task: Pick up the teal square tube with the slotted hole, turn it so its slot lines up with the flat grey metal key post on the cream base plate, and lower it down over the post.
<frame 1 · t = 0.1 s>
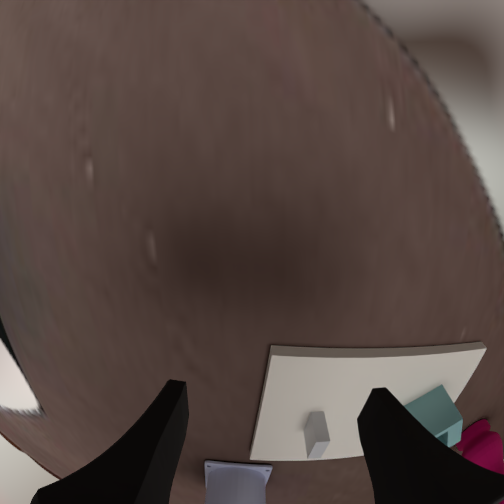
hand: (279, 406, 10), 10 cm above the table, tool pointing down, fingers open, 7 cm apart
pepper mill: (470, 430, 29), on the table
teal square tube: (420, 410, 23), point 1 cm above the table, touching key plate
key plate: (369, 409, 24), on the table
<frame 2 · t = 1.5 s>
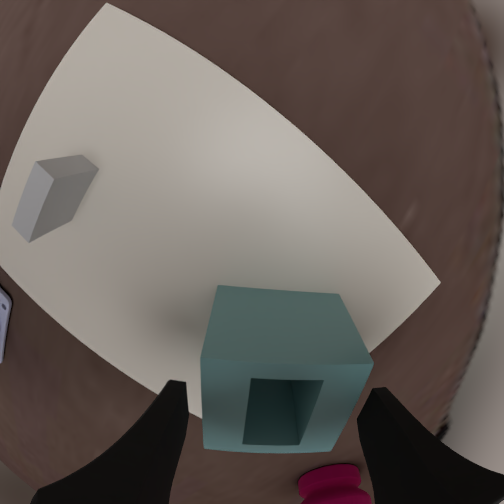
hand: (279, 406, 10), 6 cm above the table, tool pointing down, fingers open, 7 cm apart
pepper mill: (328, 475, 22), on the table
teal square tube: (272, 339, 14), point 1 cm above the table, touching key plate
key plate: (178, 257, 14), on the table
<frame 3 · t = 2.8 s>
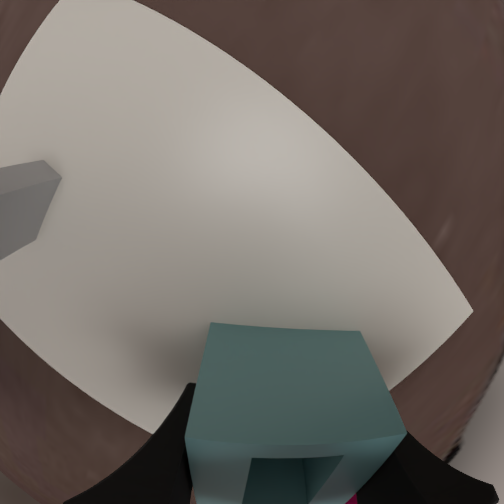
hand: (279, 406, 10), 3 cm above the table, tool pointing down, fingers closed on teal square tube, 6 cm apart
pepper mill: (333, 498, 19), on the table
teal square tube: (277, 381, 11), point 1 cm above the table, touching gripper, key plate
key plate: (162, 285, 11), on the table
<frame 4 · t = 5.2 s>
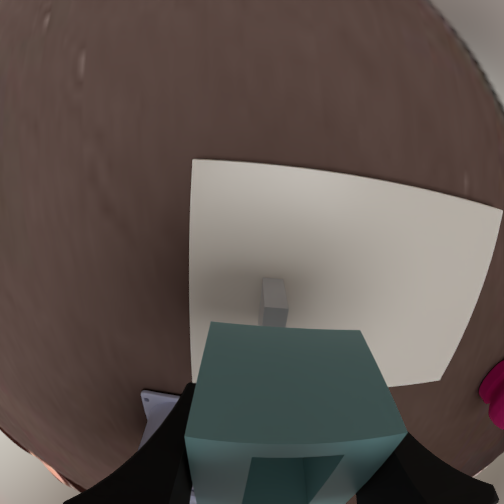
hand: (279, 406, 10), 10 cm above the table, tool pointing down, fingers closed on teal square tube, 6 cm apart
pepper mill: (495, 375, 23), on the table
teal square tube: (278, 381, 11), point 8 cm above the table, touching gripper
key plate: (356, 296, 19), on the table
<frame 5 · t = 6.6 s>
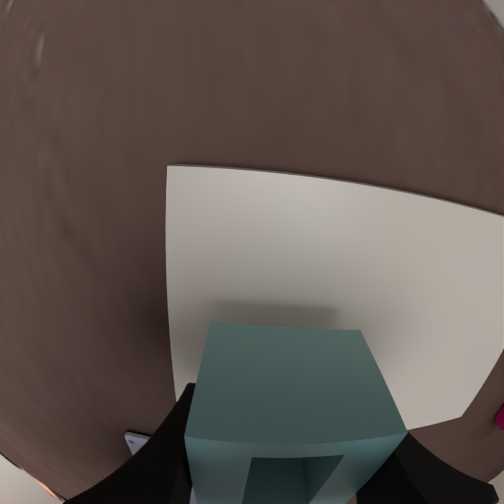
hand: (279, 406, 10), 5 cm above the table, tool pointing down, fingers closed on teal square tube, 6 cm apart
teal square tube: (278, 381, 11), point 3 cm above the table, touching gripper
key plate: (380, 339, 14), on the table
when the fingers open (4 cm above the table, at t = 7.8 s): teal square tube drops 1 cm, resting on key plate.
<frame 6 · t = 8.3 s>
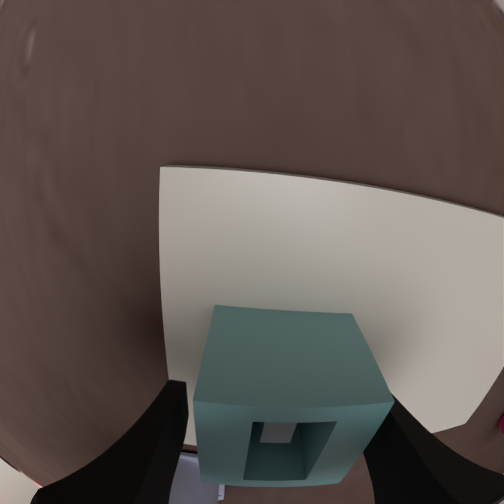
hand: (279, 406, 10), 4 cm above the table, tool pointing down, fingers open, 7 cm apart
teal square tube: (276, 362, 12), point 1 cm above the table, touching key plate
key plate: (386, 348, 14), on the table
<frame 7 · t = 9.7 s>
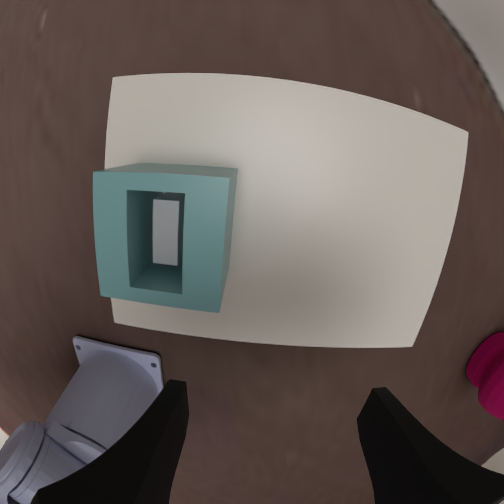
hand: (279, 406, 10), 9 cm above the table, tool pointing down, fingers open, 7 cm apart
pepper mill: (486, 354, 22), on the table
teal square tube: (182, 215, 16), point 1 cm above the table, touching key plate
key plate: (288, 221, 17), on the table
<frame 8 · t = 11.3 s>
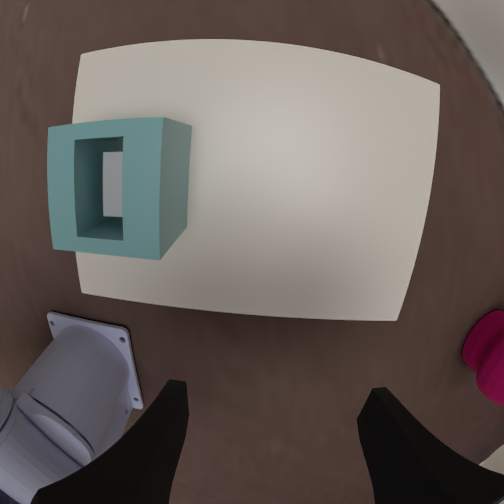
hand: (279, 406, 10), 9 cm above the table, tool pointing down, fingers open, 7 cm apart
pepper mill: (483, 335, 21), on the table
teal square tube: (140, 175, 15), point 1 cm above the table, touching key plate
key plate: (248, 179, 16), on the table
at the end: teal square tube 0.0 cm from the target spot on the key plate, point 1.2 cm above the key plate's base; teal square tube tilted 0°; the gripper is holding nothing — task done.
